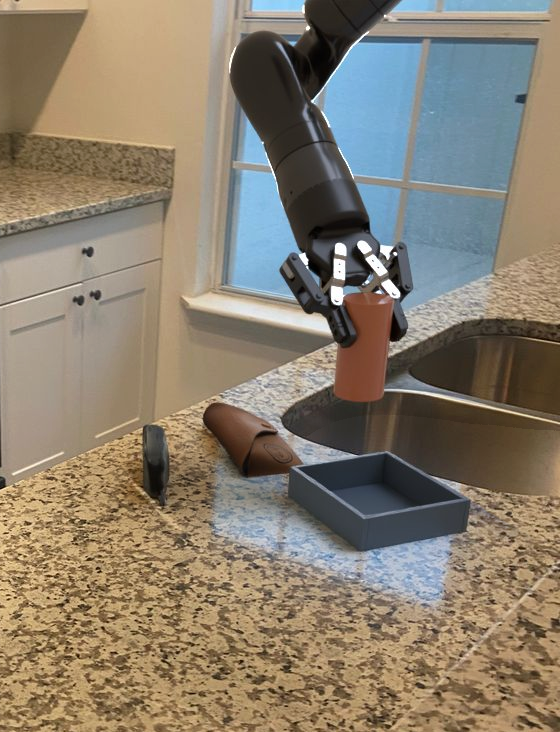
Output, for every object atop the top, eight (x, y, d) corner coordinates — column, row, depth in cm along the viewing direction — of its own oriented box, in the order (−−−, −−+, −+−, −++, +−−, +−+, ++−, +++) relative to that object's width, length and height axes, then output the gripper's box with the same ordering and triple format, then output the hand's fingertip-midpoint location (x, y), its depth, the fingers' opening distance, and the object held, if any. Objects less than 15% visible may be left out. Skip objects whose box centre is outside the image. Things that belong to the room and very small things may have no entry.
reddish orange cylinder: (365, 384, 109) (375, 290, 104) (393, 398, 104) (404, 300, 100) (324, 390, 107) (332, 295, 103) (350, 404, 103) (360, 306, 99)
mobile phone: (139, 421, 123) (144, 465, 109) (164, 420, 123) (173, 465, 109) (139, 459, 125) (144, 508, 111) (164, 459, 125) (172, 507, 111)
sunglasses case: (313, 471, 118) (288, 426, 115) (261, 504, 119) (234, 460, 116) (264, 419, 134) (240, 379, 131) (218, 449, 135) (193, 409, 132)
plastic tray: (383, 483, 116) (387, 450, 114) (465, 535, 103) (471, 499, 101) (287, 500, 112) (289, 466, 111) (359, 556, 100) (363, 519, 98)
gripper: (272, 181, 102) (328, 329, 96) (397, 171, 105) (457, 313, 100) (245, 227, 108) (295, 368, 103) (363, 216, 112) (417, 351, 107)
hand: (374, 340), depth 102 cm, fingers closed on reddish orange cylinder, 5 cm apart
